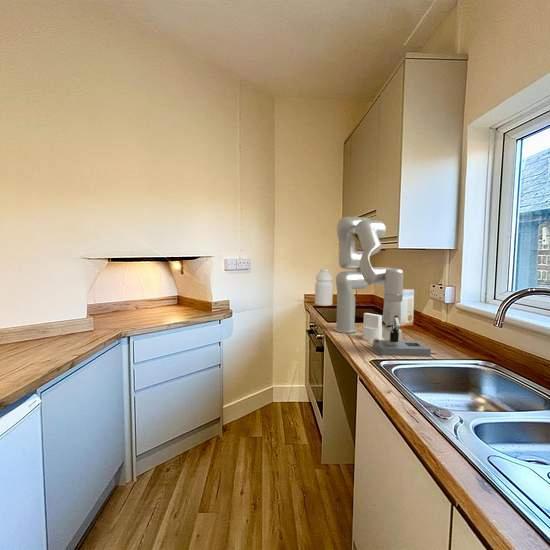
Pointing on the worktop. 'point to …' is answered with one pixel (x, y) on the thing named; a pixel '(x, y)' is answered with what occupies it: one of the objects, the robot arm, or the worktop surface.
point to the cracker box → (407, 308)
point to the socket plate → (402, 348)
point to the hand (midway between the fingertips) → (391, 339)
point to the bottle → (324, 288)
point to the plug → (386, 335)
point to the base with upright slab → (372, 327)
